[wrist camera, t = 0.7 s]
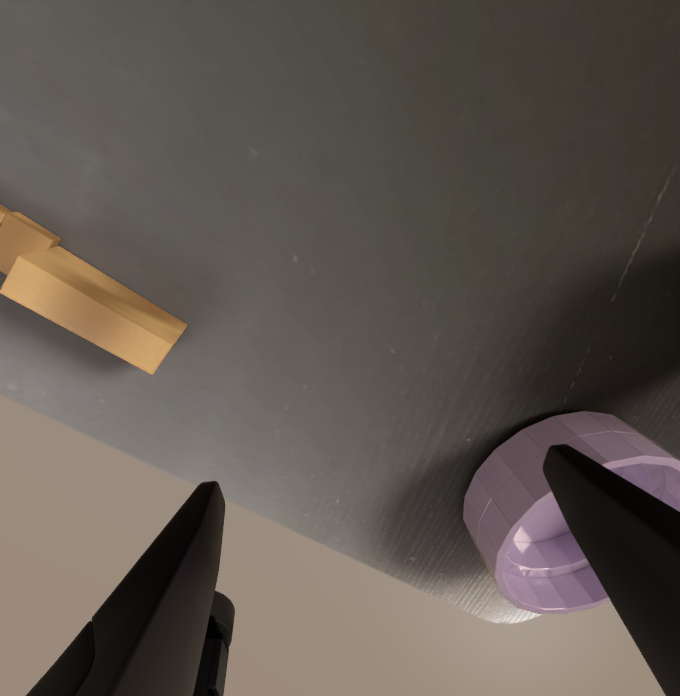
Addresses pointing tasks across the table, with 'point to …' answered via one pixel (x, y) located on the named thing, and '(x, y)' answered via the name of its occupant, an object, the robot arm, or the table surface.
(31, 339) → the table surface
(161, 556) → the robot arm
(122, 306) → the fork
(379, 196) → the table surface
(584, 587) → the bowl
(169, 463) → the table surface
